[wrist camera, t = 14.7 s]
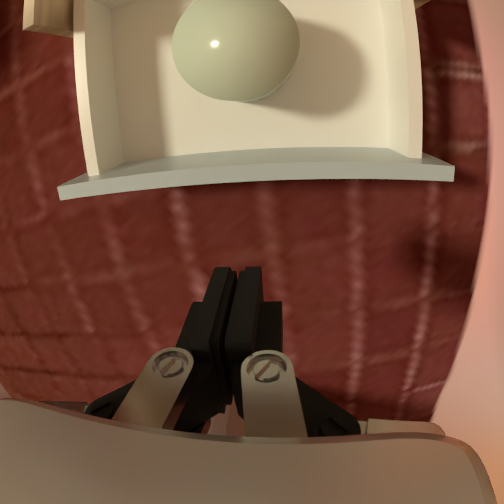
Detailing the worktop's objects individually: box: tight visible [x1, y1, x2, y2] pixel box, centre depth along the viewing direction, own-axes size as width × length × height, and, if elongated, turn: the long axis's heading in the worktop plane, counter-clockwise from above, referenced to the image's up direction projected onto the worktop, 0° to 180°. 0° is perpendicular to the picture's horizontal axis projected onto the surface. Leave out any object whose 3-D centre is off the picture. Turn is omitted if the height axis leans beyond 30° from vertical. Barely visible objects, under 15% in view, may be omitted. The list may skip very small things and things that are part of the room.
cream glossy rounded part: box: [172, 0, 300, 102], centre depth 14 cm, size 6×6×4 cm
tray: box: [57, 0, 455, 200], centre depth 15 cm, size 13×21×6 cm, turn 94°
